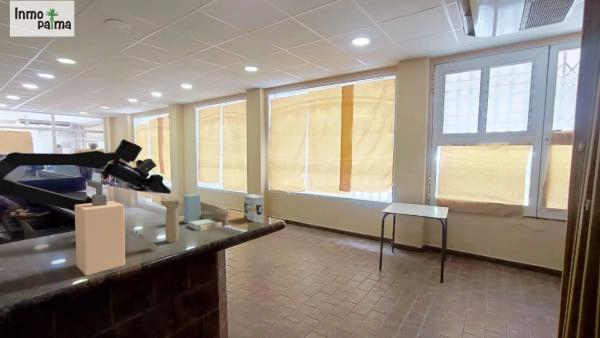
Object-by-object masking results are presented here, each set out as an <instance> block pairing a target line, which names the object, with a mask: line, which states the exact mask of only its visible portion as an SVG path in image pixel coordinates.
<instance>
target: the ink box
mask: <svg viewBox="0 0 600 338" xmlns="http://www.w3.org/2000/svg"><path fill="white" fill-rule="evenodd" d="M243 219H245V220H247V221H250V222H253V223H254V222H256V223H260V224H262V223H263V224H264V196H263V195H259V194H256V193H252V194H245V195H243Z"/></svg>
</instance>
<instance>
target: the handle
mask: <svg viewBox="0 0 600 338" xmlns="http://www.w3.org/2000/svg"><path fill="white" fill-rule="evenodd" d="M182 203H183V198H181V197H172V198H171V197H168V198H163V199H160V204H161V205H162V206H164V207H165V210H166V212H165V229H164V230H165V239H166V242H167V243H176V242H178V240H179V234H180V223H179V222H180V221H178V217H179V210H178V209H179V206H180V205H181V204H182Z"/></svg>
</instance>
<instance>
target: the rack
mask: <svg viewBox="0 0 600 338" xmlns="http://www.w3.org/2000/svg"><path fill="white" fill-rule="evenodd" d="M200 218H203V219H202V220H205V219H211V220H214V221H216V222H217V223H212V224H207V225H202V226H199V230H198V231H199V232H201V231H206V230H211V229H216V228H220V227H223V226H225V227H226V226H229V208H227V207H223V206H221V205H216V204H213V203H209V202H206V201H200ZM178 221H179V222H181V221H184V215H182V216H178ZM197 221H199V220H197ZM192 222H193V221H192ZM188 227H190V222H189V224H188Z"/></svg>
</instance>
